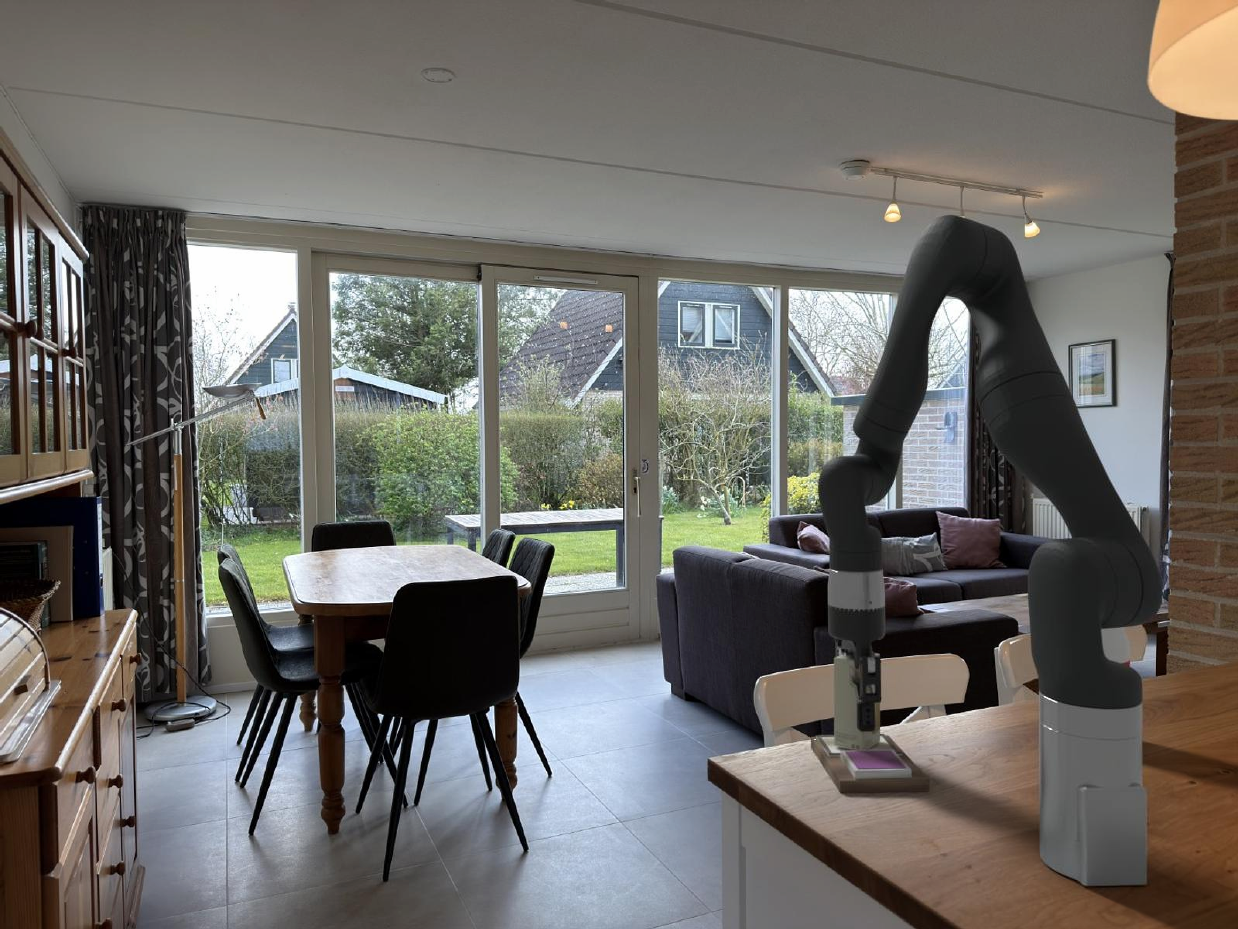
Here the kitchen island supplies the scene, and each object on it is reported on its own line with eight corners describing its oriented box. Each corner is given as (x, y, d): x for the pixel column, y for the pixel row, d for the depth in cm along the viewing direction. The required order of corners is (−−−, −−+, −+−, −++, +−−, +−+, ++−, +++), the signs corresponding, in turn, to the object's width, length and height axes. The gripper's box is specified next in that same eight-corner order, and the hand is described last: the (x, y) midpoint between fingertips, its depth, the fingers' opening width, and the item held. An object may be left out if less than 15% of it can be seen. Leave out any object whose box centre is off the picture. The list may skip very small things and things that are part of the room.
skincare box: (863, 754, 115) (863, 662, 115) (833, 747, 118) (832, 657, 118) (882, 740, 121) (881, 652, 120) (852, 734, 123) (851, 648, 123)
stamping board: (929, 791, 107) (929, 770, 107) (840, 793, 107) (839, 772, 107) (888, 745, 123) (888, 727, 123) (810, 747, 123) (810, 729, 123)
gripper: (900, 611, 112) (902, 738, 112) (868, 592, 126) (869, 705, 126) (842, 612, 112) (844, 740, 112) (816, 593, 126) (818, 706, 126)
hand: (857, 721), depth 119 cm, fingers closed on skincare box, 7 cm apart
